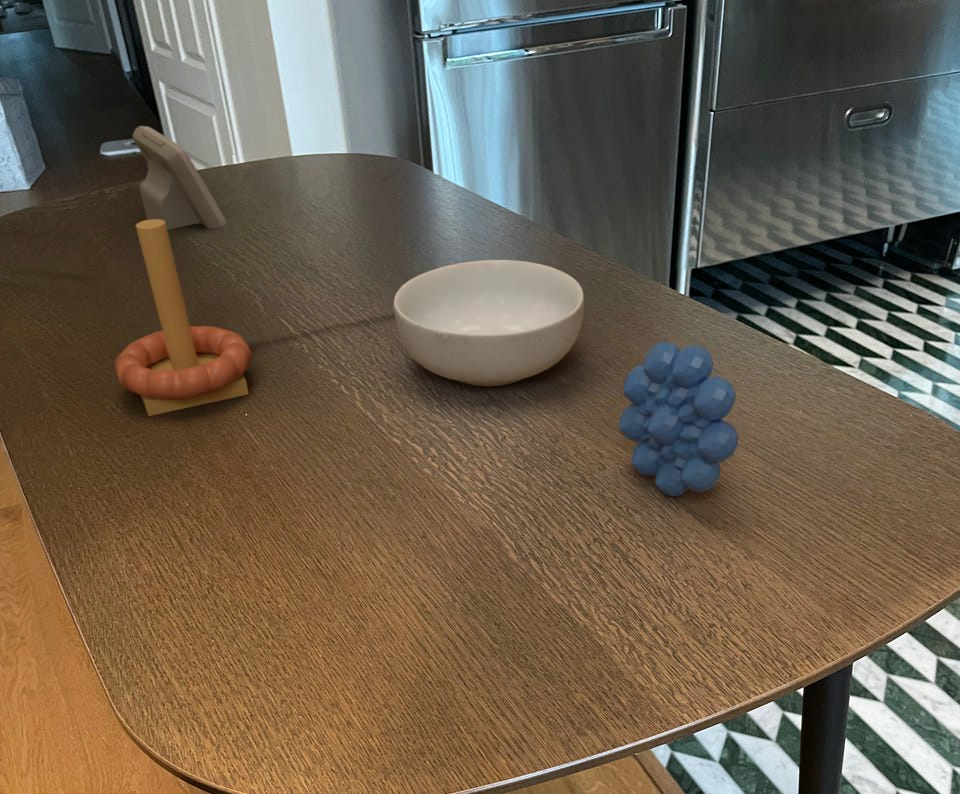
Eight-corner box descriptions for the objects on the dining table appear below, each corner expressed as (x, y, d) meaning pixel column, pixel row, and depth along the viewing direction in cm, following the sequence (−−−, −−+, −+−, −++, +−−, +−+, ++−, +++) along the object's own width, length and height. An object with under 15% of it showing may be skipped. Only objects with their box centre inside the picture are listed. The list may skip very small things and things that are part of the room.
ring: (111, 362, 94) (104, 338, 92) (235, 337, 97) (230, 313, 95) (130, 415, 85) (123, 389, 84) (266, 385, 88) (261, 359, 87)
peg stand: (133, 376, 94) (88, 217, 85) (227, 357, 97) (193, 200, 88) (148, 416, 88) (101, 249, 79) (249, 394, 91) (215, 229, 81)
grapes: (767, 511, 73) (794, 354, 65) (694, 540, 70) (713, 381, 62) (666, 445, 80) (679, 298, 73) (597, 470, 78) (603, 320, 70)
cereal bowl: (363, 373, 93) (353, 298, 88) (488, 317, 102) (485, 246, 97) (494, 430, 84) (491, 349, 79) (619, 363, 92) (623, 287, 88)
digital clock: (230, 237, 124) (212, 144, 118) (157, 248, 122) (134, 155, 115) (211, 201, 136) (193, 115, 129) (144, 211, 134) (122, 124, 127)
